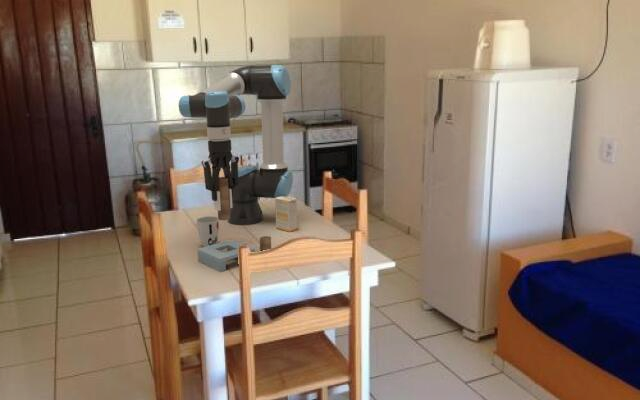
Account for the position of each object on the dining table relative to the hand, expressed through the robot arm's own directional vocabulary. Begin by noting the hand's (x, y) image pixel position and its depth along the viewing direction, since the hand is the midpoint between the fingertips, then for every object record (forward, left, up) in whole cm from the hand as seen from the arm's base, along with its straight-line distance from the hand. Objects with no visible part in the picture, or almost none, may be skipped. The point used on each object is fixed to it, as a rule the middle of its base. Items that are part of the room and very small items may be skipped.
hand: (223, 208), depth 188 cm
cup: (-19, +5, -19) cm, 27 cm away
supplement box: (-13, +38, -19) cm, 44 cm away
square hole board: (0, 0, -19) cm, 19 cm away
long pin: (0, 0, -4) cm, 4 cm away
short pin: (+4, +14, -19) cm, 24 cm away
